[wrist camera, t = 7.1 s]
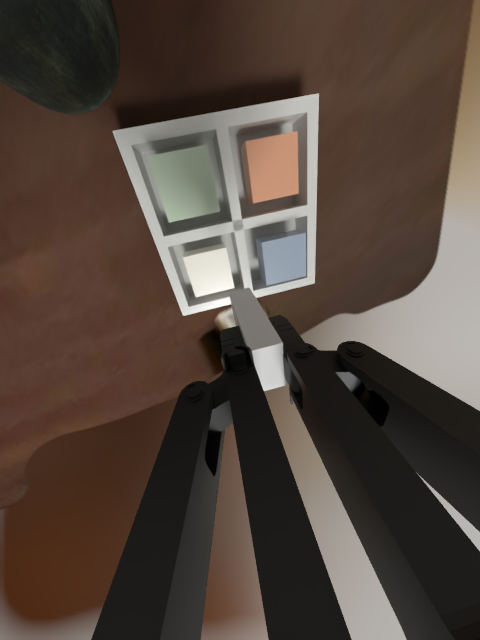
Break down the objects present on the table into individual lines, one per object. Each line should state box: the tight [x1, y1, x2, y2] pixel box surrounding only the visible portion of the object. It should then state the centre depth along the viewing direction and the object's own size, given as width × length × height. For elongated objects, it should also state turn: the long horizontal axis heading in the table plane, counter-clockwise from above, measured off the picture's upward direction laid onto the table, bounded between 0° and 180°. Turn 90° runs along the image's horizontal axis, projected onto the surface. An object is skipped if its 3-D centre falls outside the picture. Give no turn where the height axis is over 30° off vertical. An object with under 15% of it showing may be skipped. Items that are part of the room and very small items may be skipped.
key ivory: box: [183, 243, 235, 297], centre depth 23 cm, size 5×5×3 cm
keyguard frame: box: [112, 93, 319, 316], centre depth 22 cm, size 17×17×3 cm
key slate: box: [256, 230, 306, 286], centre depth 23 cm, size 5×5×3 cm
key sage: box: [147, 145, 220, 223], centre depth 18 cm, size 5×5×3 cm
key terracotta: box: [240, 131, 299, 203], centre depth 20 cm, size 5×5×3 cm
